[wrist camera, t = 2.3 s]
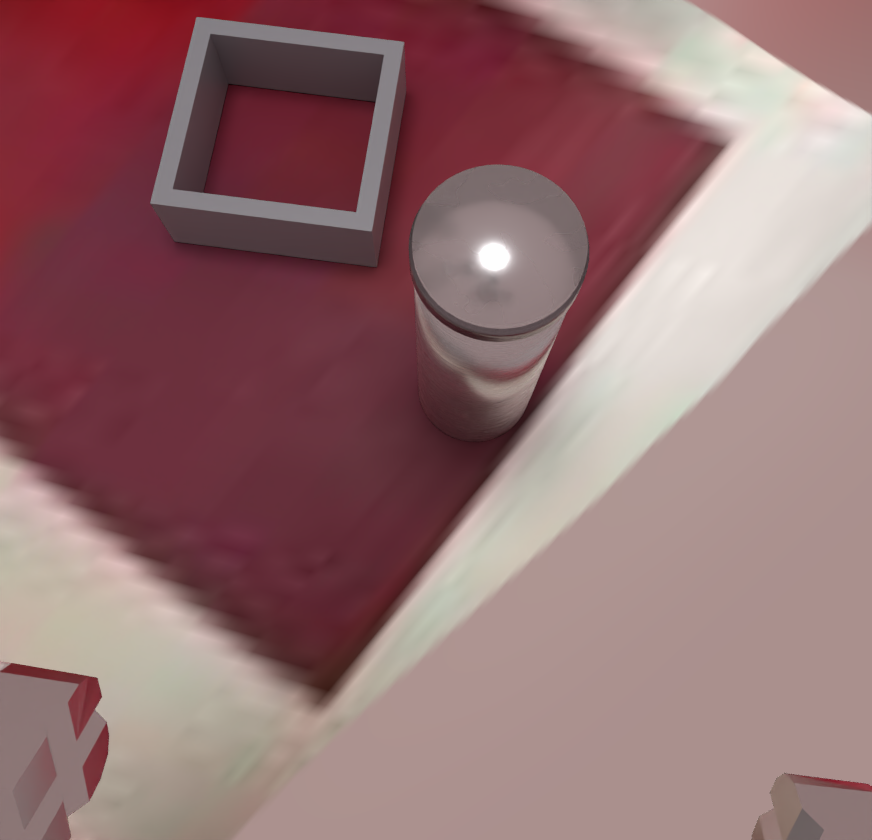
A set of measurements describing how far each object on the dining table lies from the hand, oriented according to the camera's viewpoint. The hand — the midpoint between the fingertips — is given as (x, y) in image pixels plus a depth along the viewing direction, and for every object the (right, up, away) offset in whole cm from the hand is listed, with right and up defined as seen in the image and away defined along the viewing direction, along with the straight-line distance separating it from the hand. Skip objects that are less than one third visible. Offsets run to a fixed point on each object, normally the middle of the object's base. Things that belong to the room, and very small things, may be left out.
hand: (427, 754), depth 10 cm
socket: (-7, +16, +30) cm, 35 cm away
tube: (+2, +5, +27) cm, 28 cm away
